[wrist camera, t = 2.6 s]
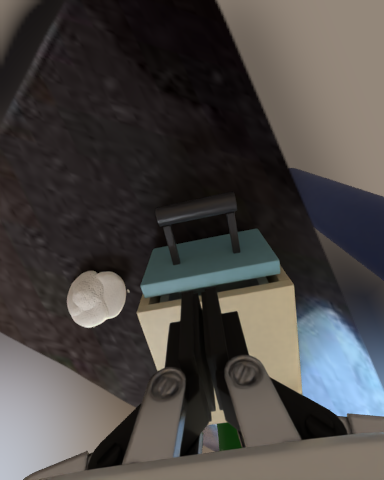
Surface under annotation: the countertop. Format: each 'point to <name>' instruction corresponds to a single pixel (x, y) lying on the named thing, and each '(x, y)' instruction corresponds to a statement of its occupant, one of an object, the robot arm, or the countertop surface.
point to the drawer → (207, 253)
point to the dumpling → (96, 297)
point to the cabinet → (253, 325)
